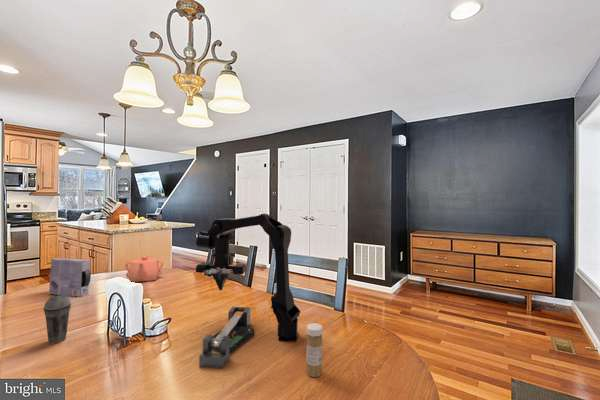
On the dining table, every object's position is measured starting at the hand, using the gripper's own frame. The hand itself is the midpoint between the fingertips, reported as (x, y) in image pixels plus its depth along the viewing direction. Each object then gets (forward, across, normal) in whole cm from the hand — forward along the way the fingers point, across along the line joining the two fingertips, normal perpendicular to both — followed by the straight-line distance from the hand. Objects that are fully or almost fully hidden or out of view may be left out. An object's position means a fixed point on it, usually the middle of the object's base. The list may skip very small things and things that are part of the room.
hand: (221, 290), depth 113 cm
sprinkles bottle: (+13, -38, +28) cm, 49 cm away
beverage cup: (+14, +50, +20) cm, 55 cm away
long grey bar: (+9, -8, +13) cm, 18 cm away
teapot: (+14, +65, -50) cm, 83 cm away
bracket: (+13, -8, +14) cm, 21 cm away
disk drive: (+14, -8, +13) cm, 21 cm away
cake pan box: (+14, +86, -23) cm, 90 cm away
